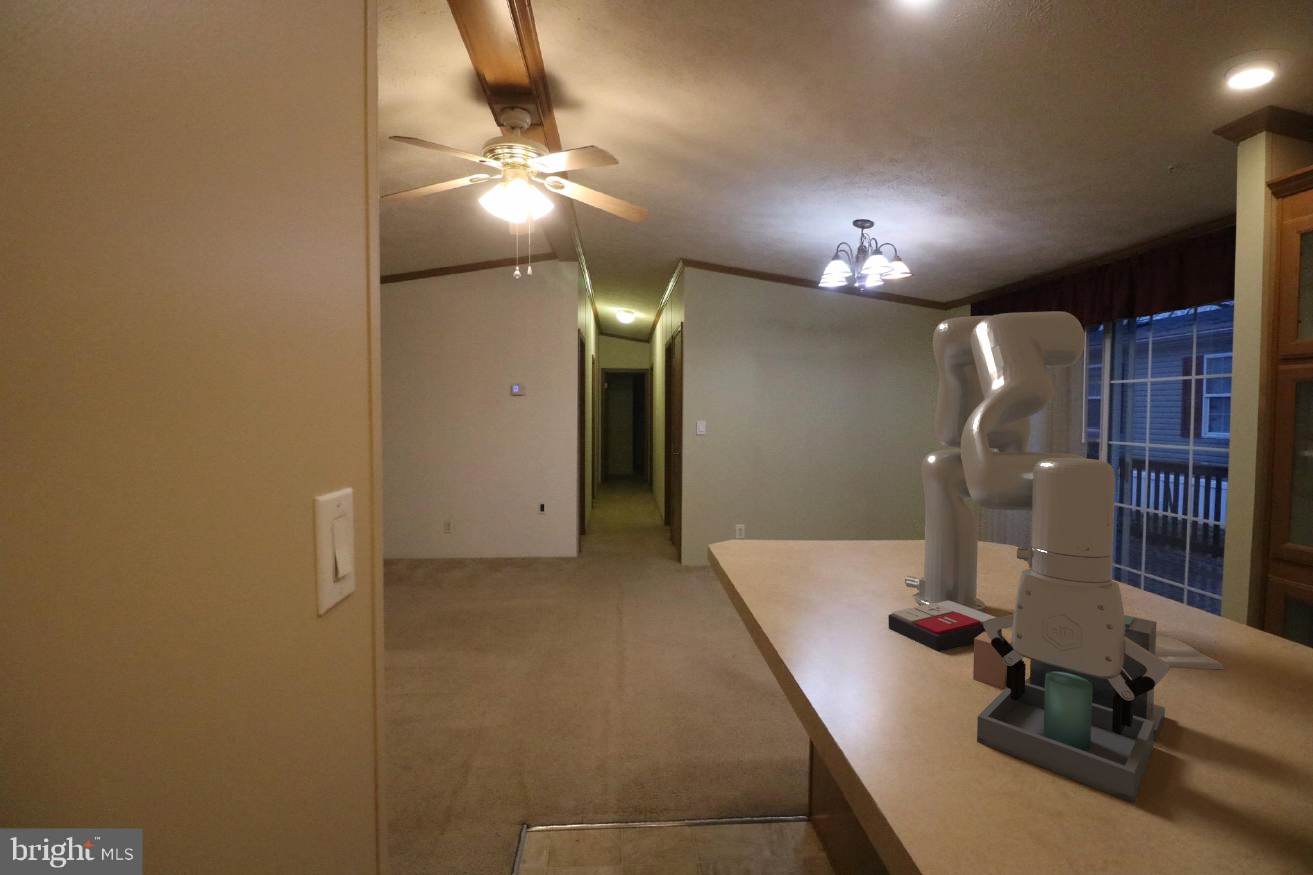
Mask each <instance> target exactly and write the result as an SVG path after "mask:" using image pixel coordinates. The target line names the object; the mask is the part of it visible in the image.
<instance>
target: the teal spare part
mask: <svg viewBox="0 0 1313 875" xmlns="http://www.w3.org/2000/svg"><path fill="white" fill-rule="evenodd" d="M1092 691H1093V685H1092V684H1091V683H1090V682H1089V681H1088V680H1086V679H1084V678H1081V677H1079V676H1076V675H1073V674H1069V673H1064V672H1048V673H1046V674H1045V699H1044V730H1043V734H1044V736H1045V737H1046V738H1049V739H1052V740H1055V741H1057V742H1060V743H1063V744H1066V745H1069V746H1071V747H1074V748H1077V749H1080V750H1083V751H1087V750H1089V749H1090V747H1091V720H1092Z"/></svg>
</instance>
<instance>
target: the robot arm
mask: <svg viewBox="0 0 1313 875" xmlns="http://www.w3.org/2000/svg"><path fill="white" fill-rule="evenodd" d="M1085 341H1086V338H1085V331H1084V329H1083V326H1082V323H1081V322H1080V321H1079V319H1078V318H1076V316H1075V315H1073V314H1071V313H1069V312H1066V311H1032V312H1031V311H1028V312H1027V311H1026V312H1025V311H1024V312H1008V313H1007V312H1006V313H999V314H993V315H974V316H960V317H959V316H958V317H952V318H948V319H944V320H943V321H941V322H940V323H939V324H938V325H937V326H936V328H935V330H934V332H933V336H932V350H933V355H934V360H935V363H936V366H937V369H938V374H939V384H938V391H937V392H938V393H937V402H936V410H935V418H934V435H935V438H936V441H938V442H939V443H940V445H943V446H946V447H948V448H949V447H950V448H959V449H941V450H936V451H932V452H930V453H928V454H927V455H926V456H925V457H924V458H923V460H922V462H921V467H920V468H921V470H920V472H921V478H922V479H921V480H922V487H923V495H924V508H925V509H924V514H925V518H924V520H925V521H924V565H923V566H924V568H923V570H924V571H923V576H922V577H920V578H918V577H915V576H911V575H906V576H905V578H904V584H905V587H907V588H912V589H913V588H914V589H916V590H917V592H916V593H915V602H916V603H917V604H918V605H919V606H921V605H926V604H930V603H934V604H935V603H939V602H944V601H952V602H955V603H957V604H960V605H963V606H966V607H969V608H972V609H974V610H977V611H980V612H983V613H985V610H986V604H985V602H984V601H983V600H982V599H979V598H978V597H977V588H978V586H977V585H978V584H977V583H978V550H979V549H978V546H979V544H978V543H979V522H978V521H979V520H978V518H977V515H976V514H975V512H974V511H973V510H972V508H970V507H969V505H967V503H966V502H965V499H972V500H973V501H974V502H975V503H976V504H977V505H979V506H980V507H982V508H985V509H989V510H1003V511H1022V512H1023V511H1025V512H1031V533H1030V534H1031V536H1030V545H1029V546H1028V547H1024V548H1022V547H1018V548H1017V549H1016V558H1017V559H1018V560H1022V561H1025V562H1027V564H1028V568H1027V569H1025V570H1022V571H1021V575H1020V577H1019V581H1018V586H1017V590H1016V597H1015V604H1014V613H1013V614H1012V613H1011V614H1007V615H1002V616H997V618H993V619H988V620H987V621H985V622H984V623H983V626H984V628H985V631H986V633H987V635H988V637H989V638H990V640H991V645H992V646H993V647H994V648H995V650H996V651H997V652H998V653H999V654H1000V656H1001V657H1002V658H1003V662H1004V663H1005V664H1006V665H1007V680H1006V686H1007V688H1009V689H1011V699H1012V700H1015V701H1016V700H1019V699H1020V698H1021V697H1022V696H1023V694H1024V693H1025V681H1026V669H1027V668H1026V665H1027V664H1026V663H1025V661H1024V660H1023V658H1025V659H1029V660H1030V659H1031V660H1035V661H1038V662H1042V663H1045V664H1049V665H1052V666H1056V667H1060V668H1063V669H1067V670H1070V671H1074V672H1078V673H1081V674H1085V675H1089V676H1093V677H1097V678H1102V679H1107V680H1108V681H1109V682H1110V683H1111V685H1112V686H1113V687H1114V688H1115V690H1116V691H1117V692H1116V694H1115V696H1114V698H1113V720H1112V731H1114V733H1116V734H1119V735H1121V734H1122V732H1123V729H1124V727H1125V726H1129V727H1131V726H1132V723H1133V701H1134V698H1135V697H1137V696H1139V695H1141V694H1143V693H1146V692H1148V691H1150V690H1152V689H1153V688H1154V689H1155V687H1156V686H1157V684H1159V683H1160V681H1161V680H1162V679H1163V678H1164V677H1165V676H1166V675H1167V674H1168V673H1169V670H1170V667H1171V666H1169V664H1168V663H1166V662H1165V661H1163V660H1162V659H1160V658H1159V657H1157V656H1155V655H1154V654H1152V653H1151V652H1149V651H1147V650H1146V649H1144V648H1143V647H1141V646H1139V645H1138V644H1136V643H1135V642H1133V641H1132V640H1130V639H1128V638H1127V637H1126V634H1125V619H1124V615H1125V610H1124V603H1123V598H1122V592H1121V589H1120V585H1119V583H1118V582H1117V581H1113V552H1114V527H1115V526H1114V523H1115V522H1114V520H1115V519H1114V518H1115V495H1116V493H1115V491H1116V489H1115V488H1116V487H1115V486H1116V474H1115V470H1114V468H1113V467H1112V465H1111V464H1110V463H1109V462H1107V461H1104V460H1100V459H1094V458H1087V457H1084V456H1082V455H1079V454H1076V453H1066V452H1065V453H1064V452H1062V453H1061V452H1057V453H1056V452H1029V451H1027V450H1028V446H1029V445H1028V444H1029V441H1030V433H1031V416H1034V415H1036V414H1038V413H1039V412H1041V411H1043V410H1044V409H1045V408H1046V407H1048V406H1049V404H1050V403H1051V402H1052V400H1053V398H1054V397H1055V396H1054V395H1055V386H1054V384H1053V380H1052V379H1051V375H1050V373H1049V371H1048V368H1067V367H1070V366H1072V365H1075V363H1076V362H1078V360H1080V357H1081V356H1082V354H1083V352H1084V349H1085ZM992 449H993V450H992ZM1007 628H1012V631H1011V633H1012V634H1011V639H1012V646H1013V647H1012V646H1011V645H1010V644H1009V643H1008V641H1007V640H1006V639H1005V638H1004V637H1005V636H1003V633H1001V629H1002V630H1003V629H1007ZM1126 654H1127V655H1129V656H1130V657H1132V658H1133V659H1135V660H1137V661H1138V662H1140V663H1141V664H1143V665H1144V666H1145V667H1146V668H1147V671H1146V672H1145V673H1144V674H1143V675H1141V676H1139V677H1137V678H1135V679H1133V680H1132V678H1131V677H1130V676H1129V675H1128V674H1127V672H1126V671H1125V670H1124V669H1123V668H1122V667H1123V666H1124V664H1125V660H1126Z"/></svg>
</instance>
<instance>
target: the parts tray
mask: <svg viewBox="0 0 1313 875" xmlns="http://www.w3.org/2000/svg"><path fill="white" fill-rule="evenodd" d="M1002 690H1003V691H1001V692H1000V693H999V695H998V696H996V697H995V698H994V699H993V700H992V701H991V702H989V704H988V705H987V706H986V707H985V708H984V709H983V710H982V711H981V712H980V713H979V714H978V715H977V724H976V725H977V730H976V733H977V734H976V742H977V743H981V744H983V745H986V746H988V747H991V748H992V749H995V750H998V751H1000V752H1004V753H1006V754H1009V755H1010V756H1013V757H1016V758H1018V759H1021V760H1023V761H1025V762H1028V763H1030V764H1034V765H1036V766H1038V767H1041V768H1044V769H1047V770H1049V771H1052V772H1054V773H1056V774H1059V775H1062V776H1064V777H1065V778H1066V777H1067V778H1070V779H1072V780H1074V781H1077V782H1079V783H1081V784H1085V785H1086V786H1087V785H1088V786H1089V787H1092V788H1095V789H1096V790H1099V791H1103V792H1104V793H1107V794H1110V795H1113V796H1114V797H1118V798H1120V799H1123V800H1125V801H1128V802H1129V803H1133V804H1134V802H1135V799H1136V797H1137V794H1138V791H1139V788H1140V785H1141V783H1142V780H1143V777H1144V774H1145V772H1146V769H1147V766H1148V763H1149V760H1150V757H1151V756H1152V753H1153V751H1154V744H1155V740H1154V722H1153V721H1150V720H1147V719H1144V718H1140V717H1137V716H1134V715H1133V723H1132V726H1131V727H1129V726H1125V727H1124V729H1123V732H1122V734H1121V735H1119V734H1116V733H1114V731H1112V720H1113V709H1111V708H1107V707H1104V706H1101V705H1098V704H1094V703H1092V720H1091V747H1090V749H1089V750H1087V751H1083V750H1080V749H1077V748H1074V747H1071V746H1069V745H1066V744H1063V743H1060V742H1057V741H1055V740H1052V739H1049V738H1046V737H1045V736H1044V734H1043V730H1044V699H1045V688H1042V687H1038V686H1035V685H1032V684H1029V683H1025V693H1024V694H1023V696H1022V697H1021V698H1020V699H1019V700H1016V701H1015V700H1012V699H1011V689H1009V688H1007V687H1006V688H1005V689H1002Z"/></svg>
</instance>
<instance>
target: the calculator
mask: <svg viewBox="0 0 1313 875" xmlns="http://www.w3.org/2000/svg"><path fill="white" fill-rule="evenodd" d="M997 617H998V616H997ZM997 617H996V616H994V615H991V614H988V613H986V612H980V611H977V610H974V609H972V608H969V607H966V606H963V605H960V604H957V603H955V602H952V601H944V602H939V603H935V604H934V603H930V604H926V605H917V606H914V607H908V608H904V609H900V610H899V609H898V610H895V611H892V612H891V613H890V614H888V617H887V618H888V630H889V631H892V632H895V633H897V634H900V635H901V636H904V637H906V638H907V639H910V640H912V641H914V642H916V643H919V644H920V645H923V646H925V647H926V648H929V649H931V650H933V651H936V652H944V651H949V650H954V649H959V648H965V647H968V646H972V645H973V646H974V638H976V637H977V636H979V635H980V634H981V633H983V632H986V631H985V628H984V626H983V623H984V622H985V621H987V620H988V619H993V618H997ZM1002 632H1003V629H1001V633H1002ZM1002 634H1003V633H1002Z"/></svg>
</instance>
